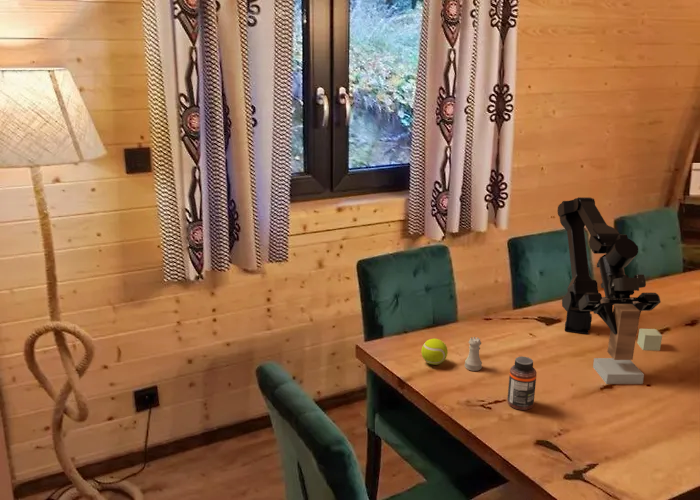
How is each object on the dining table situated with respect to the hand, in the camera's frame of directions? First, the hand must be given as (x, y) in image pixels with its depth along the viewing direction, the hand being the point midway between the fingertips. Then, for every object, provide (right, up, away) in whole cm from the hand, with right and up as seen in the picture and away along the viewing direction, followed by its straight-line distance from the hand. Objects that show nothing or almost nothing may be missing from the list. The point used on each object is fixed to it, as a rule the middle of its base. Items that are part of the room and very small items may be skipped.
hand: (625, 333), depth 167 cm
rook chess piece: (-36, -10, +8) cm, 38 cm away
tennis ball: (-46, -9, +10) cm, 48 cm away
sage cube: (+15, -6, +21) cm, 27 cm away
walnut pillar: (0, -6, +3) cm, 7 cm away
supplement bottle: (-28, -15, -10) cm, 34 cm away
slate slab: (0, -11, +5) cm, 12 cm away
